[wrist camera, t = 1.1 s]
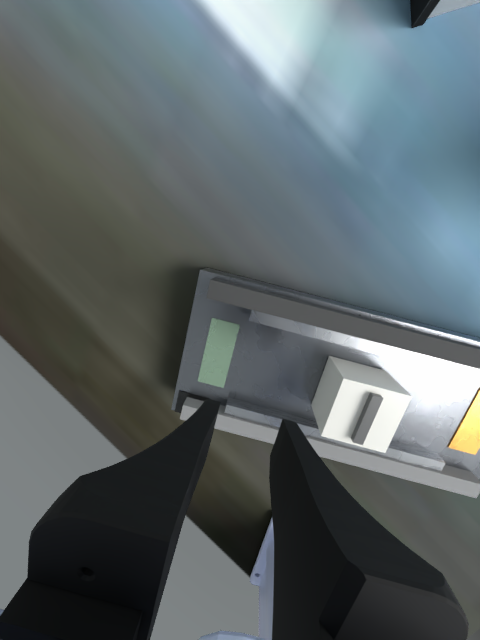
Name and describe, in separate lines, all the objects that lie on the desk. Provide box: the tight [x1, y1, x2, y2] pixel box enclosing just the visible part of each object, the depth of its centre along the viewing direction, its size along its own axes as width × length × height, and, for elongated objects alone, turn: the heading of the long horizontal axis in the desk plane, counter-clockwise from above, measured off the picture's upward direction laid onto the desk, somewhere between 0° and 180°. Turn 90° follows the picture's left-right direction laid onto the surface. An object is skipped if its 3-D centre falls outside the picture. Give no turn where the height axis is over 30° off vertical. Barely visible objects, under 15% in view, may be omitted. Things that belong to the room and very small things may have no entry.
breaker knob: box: [311, 356, 412, 453], centre depth 17 cm, size 4×4×4 cm
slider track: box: [171, 267, 480, 480], centre depth 20 cm, size 11×24×4 cm, turn 76°
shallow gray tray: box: [180, 278, 480, 498], centre depth 18 cm, size 10×22×1 cm, turn 76°
